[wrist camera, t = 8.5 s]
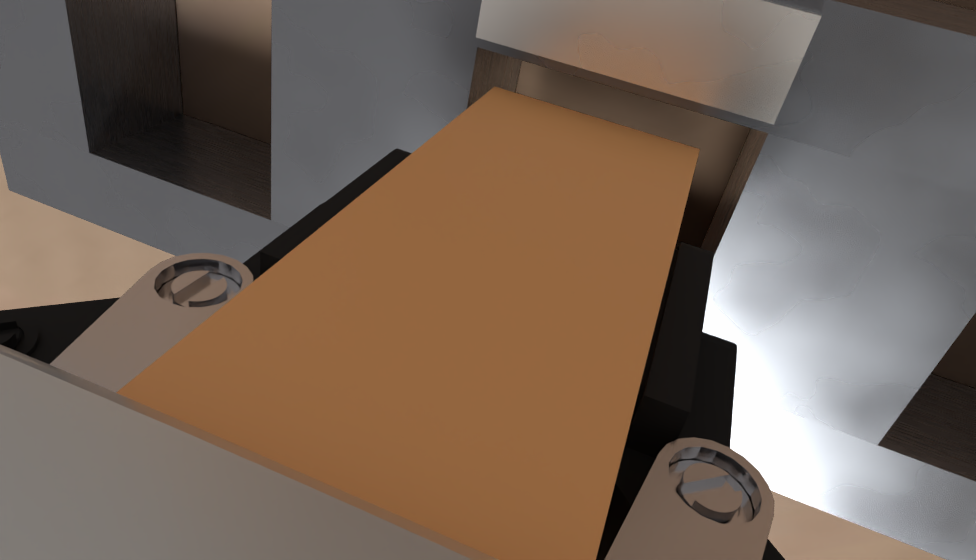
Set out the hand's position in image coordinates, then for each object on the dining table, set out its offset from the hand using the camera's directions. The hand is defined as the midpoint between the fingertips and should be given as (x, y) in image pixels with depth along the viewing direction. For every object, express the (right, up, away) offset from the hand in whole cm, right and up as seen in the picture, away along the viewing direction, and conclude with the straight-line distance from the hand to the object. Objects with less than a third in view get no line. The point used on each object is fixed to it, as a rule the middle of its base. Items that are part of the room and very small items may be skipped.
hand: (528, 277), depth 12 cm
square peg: (+1, +1, +2) cm, 3 cm away
